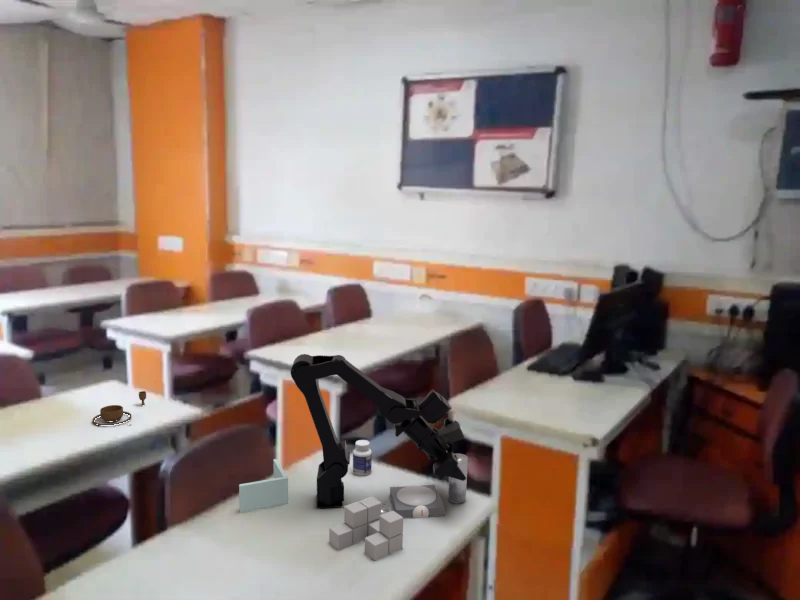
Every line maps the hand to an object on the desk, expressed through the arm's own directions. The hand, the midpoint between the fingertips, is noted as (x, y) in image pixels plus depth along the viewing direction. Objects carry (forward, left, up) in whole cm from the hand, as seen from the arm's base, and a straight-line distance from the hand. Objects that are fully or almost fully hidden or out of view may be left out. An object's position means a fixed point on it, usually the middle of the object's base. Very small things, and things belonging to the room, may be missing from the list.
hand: (463, 475), depth 167 cm
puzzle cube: (-27, -18, -8) cm, 33 cm away
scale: (-12, -1, -7) cm, 14 cm away
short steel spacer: (-22, -7, -7) cm, 24 cm away
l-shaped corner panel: (-52, +8, -8) cm, 53 cm away
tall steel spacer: (-1, 0, -7) cm, 7 cm away
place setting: (-100, +68, -8) cm, 122 cm away
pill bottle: (-24, +19, -7) cm, 32 cm away
